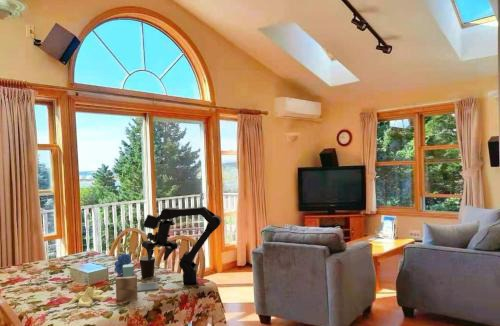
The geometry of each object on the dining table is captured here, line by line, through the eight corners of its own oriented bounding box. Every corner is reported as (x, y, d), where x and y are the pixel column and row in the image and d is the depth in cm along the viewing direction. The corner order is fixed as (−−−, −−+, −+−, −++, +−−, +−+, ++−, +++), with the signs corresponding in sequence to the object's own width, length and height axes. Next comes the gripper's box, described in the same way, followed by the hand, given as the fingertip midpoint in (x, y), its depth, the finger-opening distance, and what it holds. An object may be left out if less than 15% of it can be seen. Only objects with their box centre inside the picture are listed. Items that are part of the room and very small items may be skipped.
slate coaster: (157, 283, 203) (157, 282, 203) (158, 289, 193) (158, 288, 193) (137, 285, 200) (137, 284, 200) (137, 291, 190) (137, 290, 190)
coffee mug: (151, 278, 211) (151, 260, 211) (136, 278, 213) (136, 260, 213) (160, 272, 222) (160, 255, 222) (146, 272, 224) (146, 254, 224)
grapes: (126, 270, 229) (125, 250, 229) (134, 272, 225) (133, 251, 225) (109, 275, 219) (109, 254, 219) (117, 277, 215) (117, 255, 215)
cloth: (97, 290, 196) (97, 278, 196) (119, 297, 185) (118, 284, 185) (52, 304, 179) (52, 290, 179) (73, 313, 167) (72, 298, 167)
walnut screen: (137, 297, 182) (136, 276, 182) (136, 299, 180) (135, 277, 180) (117, 298, 182) (117, 277, 182) (116, 300, 179) (115, 278, 179)
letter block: (134, 287, 197) (133, 263, 197) (134, 290, 192) (133, 266, 192) (123, 288, 196) (123, 264, 196) (123, 292, 191) (122, 267, 191)
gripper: (169, 227, 215) (163, 255, 215) (139, 226, 201) (133, 256, 201) (181, 233, 207) (174, 262, 207) (151, 233, 193) (144, 263, 194)
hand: (156, 260), depth 202 cm, fingers open, 9 cm apart
